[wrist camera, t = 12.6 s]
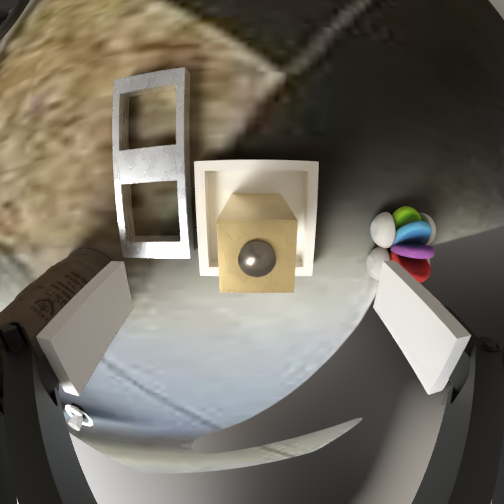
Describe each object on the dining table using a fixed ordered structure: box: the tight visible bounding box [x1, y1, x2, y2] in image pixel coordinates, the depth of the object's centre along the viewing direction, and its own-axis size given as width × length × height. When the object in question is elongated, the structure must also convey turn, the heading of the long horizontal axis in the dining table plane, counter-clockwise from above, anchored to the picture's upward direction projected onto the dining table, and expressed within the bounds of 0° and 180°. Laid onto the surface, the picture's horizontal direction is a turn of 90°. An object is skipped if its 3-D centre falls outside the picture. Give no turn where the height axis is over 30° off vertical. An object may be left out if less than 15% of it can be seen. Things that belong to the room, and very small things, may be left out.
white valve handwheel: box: [65, 405, 93, 431], centre depth 44 cm, size 9×8×4 cm
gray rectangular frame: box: [112, 67, 194, 258], centre depth 26 cm, size 20×8×2 cm, turn 0°
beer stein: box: [0, 249, 111, 391], centre depth 25 cm, size 15×10×20 cm
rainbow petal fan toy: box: [366, 206, 436, 283], centre depth 27 cm, size 8×10×7 cm
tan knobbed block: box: [217, 193, 298, 293], centre depth 23 cm, size 5×5×12 cm
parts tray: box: [194, 160, 319, 276], centre depth 28 cm, size 12×12×2 cm
